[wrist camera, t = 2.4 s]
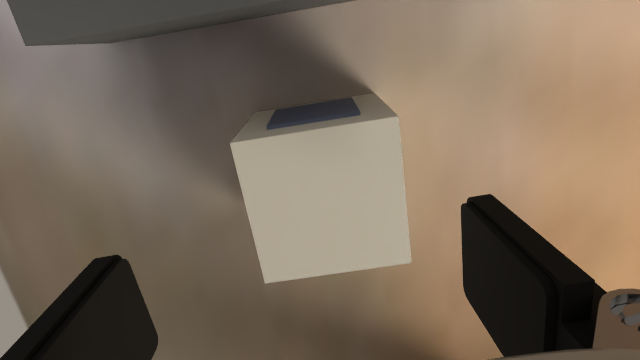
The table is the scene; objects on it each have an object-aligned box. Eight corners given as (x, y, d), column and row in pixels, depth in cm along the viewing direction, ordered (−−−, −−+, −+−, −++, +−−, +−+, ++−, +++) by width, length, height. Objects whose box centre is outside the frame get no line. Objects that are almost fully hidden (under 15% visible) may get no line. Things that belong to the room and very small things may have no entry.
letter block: (373, 89, 19) (398, 111, 13) (385, 202, 21) (411, 262, 15) (254, 109, 19) (228, 138, 13) (278, 218, 21) (265, 283, 16)
